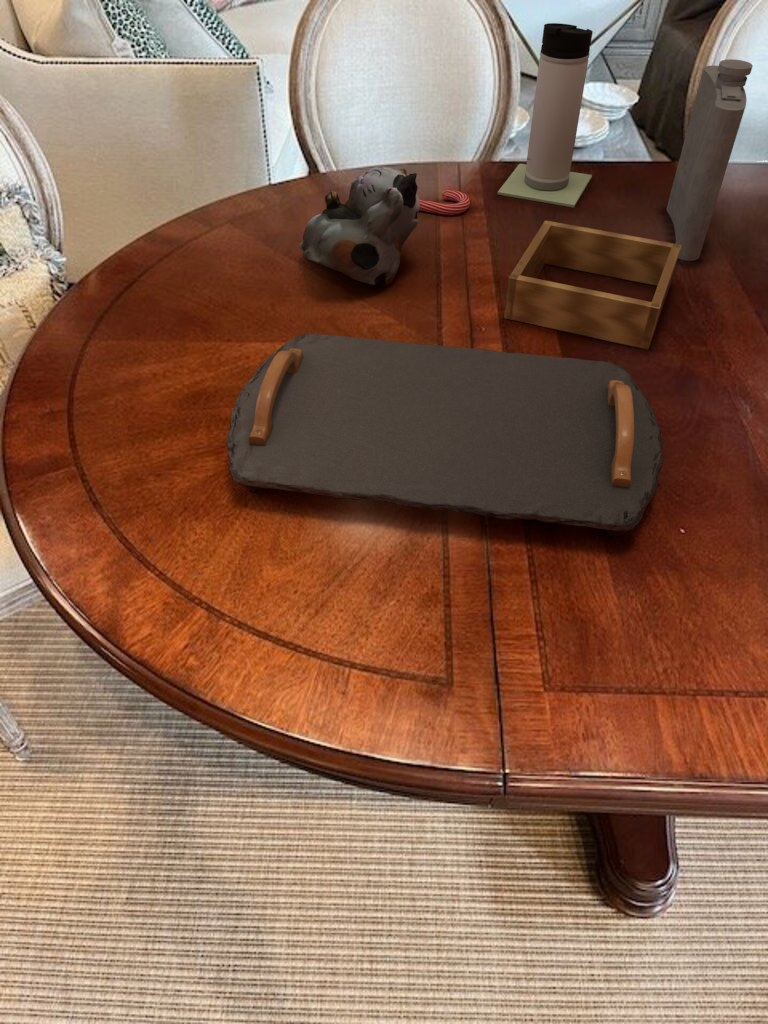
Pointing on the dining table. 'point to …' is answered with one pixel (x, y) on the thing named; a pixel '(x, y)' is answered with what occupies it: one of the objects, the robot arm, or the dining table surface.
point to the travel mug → (557, 105)
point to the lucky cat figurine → (365, 226)
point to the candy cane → (447, 208)
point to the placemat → (562, 197)
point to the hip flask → (706, 152)
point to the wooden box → (585, 306)
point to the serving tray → (449, 431)
